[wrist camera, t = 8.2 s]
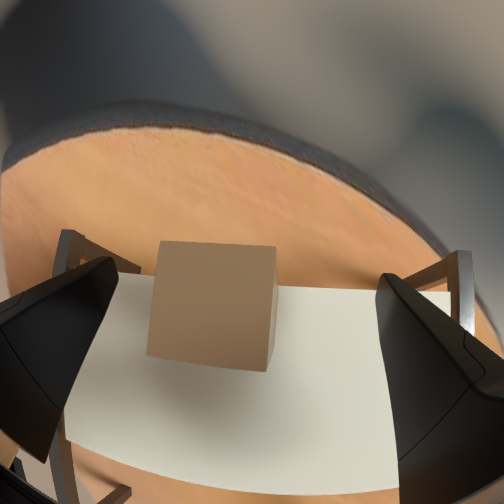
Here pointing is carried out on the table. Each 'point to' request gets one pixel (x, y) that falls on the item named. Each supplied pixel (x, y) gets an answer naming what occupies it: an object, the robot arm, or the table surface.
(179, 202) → the table surface
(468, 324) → the cover frame
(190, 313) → the sliding cover
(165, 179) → the table surface
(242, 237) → the table surface
